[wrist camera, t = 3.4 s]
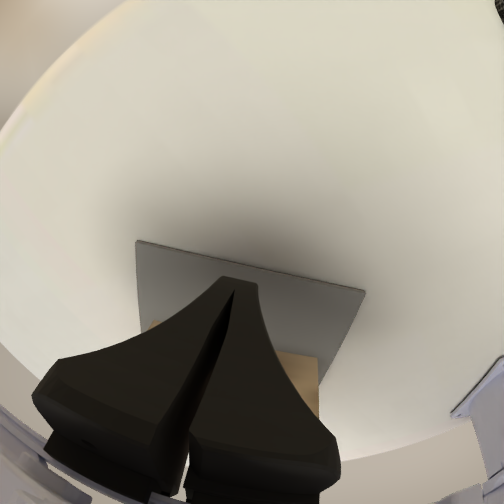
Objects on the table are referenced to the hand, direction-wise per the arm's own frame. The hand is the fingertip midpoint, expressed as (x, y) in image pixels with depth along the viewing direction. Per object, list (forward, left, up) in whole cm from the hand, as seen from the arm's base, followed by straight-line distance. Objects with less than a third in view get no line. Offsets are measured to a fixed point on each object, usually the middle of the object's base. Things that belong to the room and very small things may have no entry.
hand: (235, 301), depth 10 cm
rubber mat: (0, +11, -4) cm, 12 cm away
